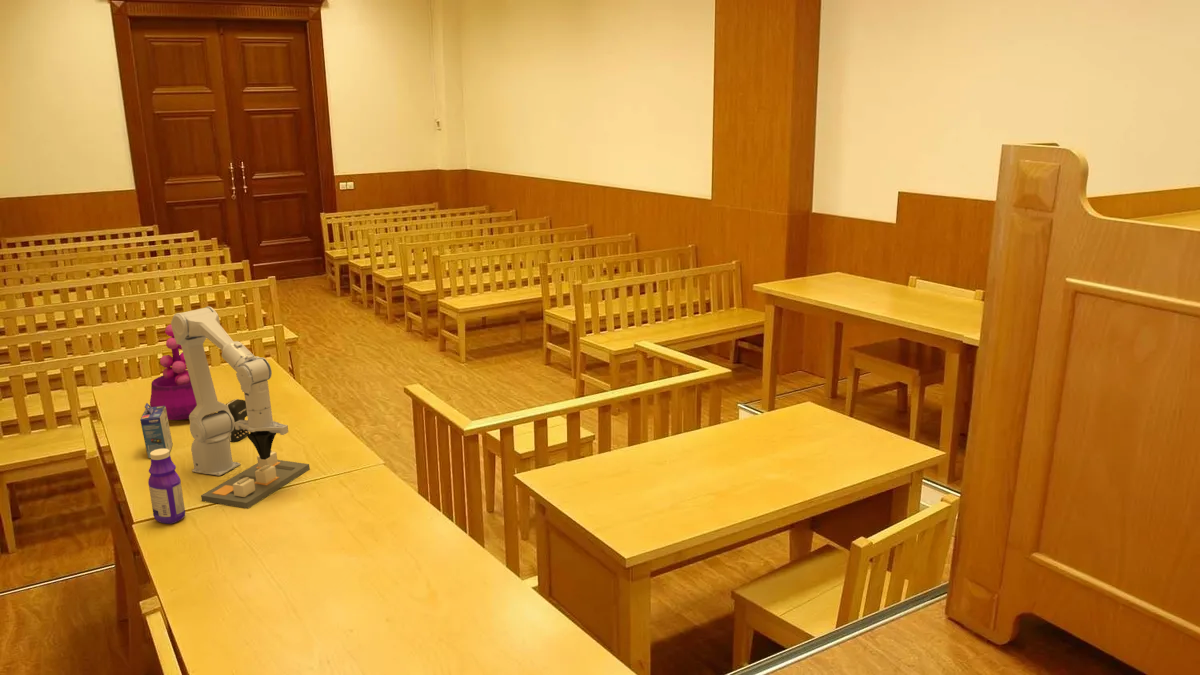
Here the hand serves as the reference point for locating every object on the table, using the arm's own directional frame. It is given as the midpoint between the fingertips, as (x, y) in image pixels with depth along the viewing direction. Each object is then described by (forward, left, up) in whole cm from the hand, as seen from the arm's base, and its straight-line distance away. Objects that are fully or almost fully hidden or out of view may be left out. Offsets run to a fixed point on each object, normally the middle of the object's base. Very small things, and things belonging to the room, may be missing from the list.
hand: (265, 457), depth 218 cm
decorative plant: (-62, +36, -9) cm, 72 cm away
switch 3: (-2, +1, -7) cm, 7 cm away
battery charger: (-32, +26, -9) cm, 42 cm away
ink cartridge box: (-47, +11, -9) cm, 49 cm away
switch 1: (-2, -7, -7) cm, 10 cm away
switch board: (-5, +1, -9) cm, 10 cm away
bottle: (-12, -21, -9) cm, 25 cm away
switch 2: (-8, +9, -7) cm, 14 cm away
